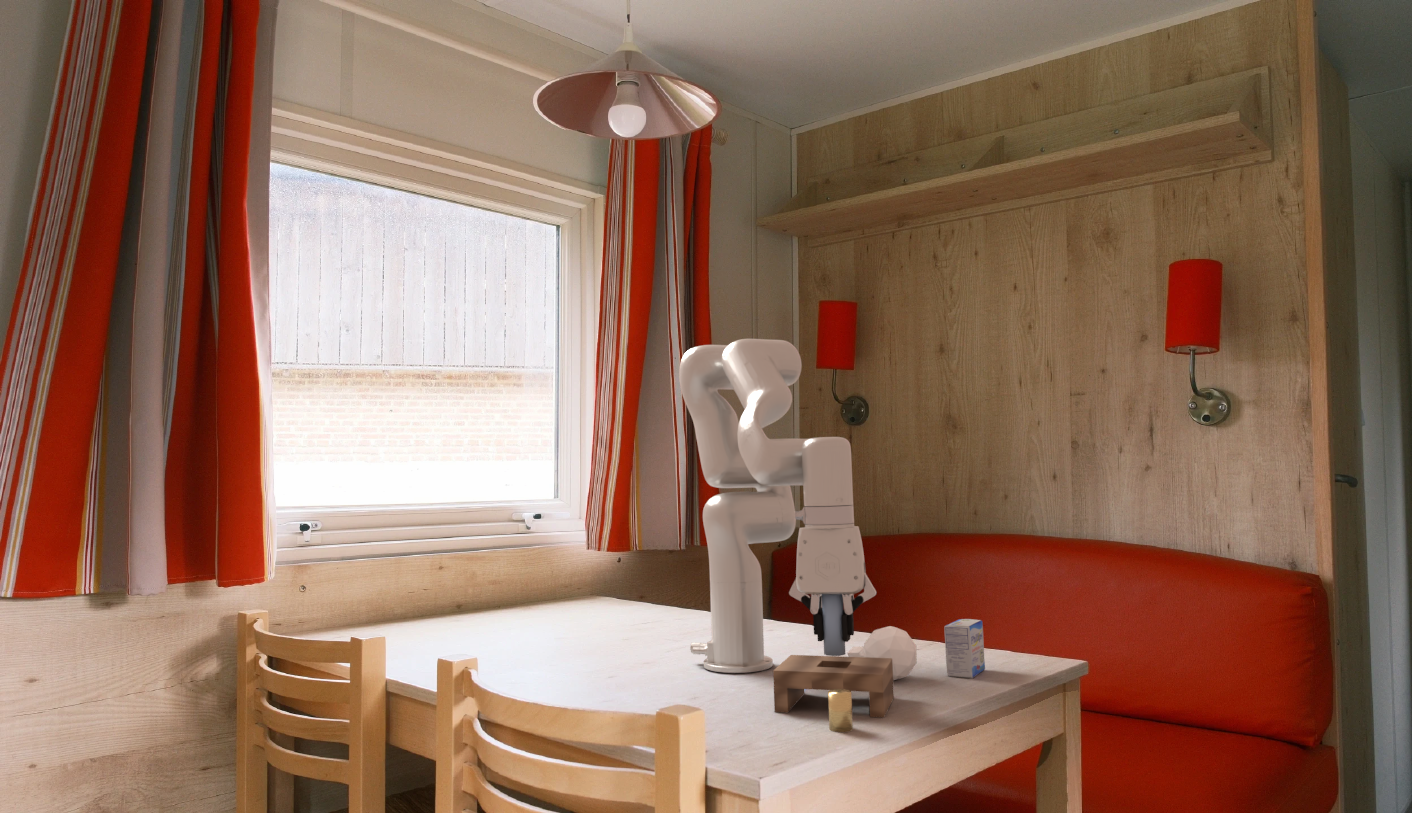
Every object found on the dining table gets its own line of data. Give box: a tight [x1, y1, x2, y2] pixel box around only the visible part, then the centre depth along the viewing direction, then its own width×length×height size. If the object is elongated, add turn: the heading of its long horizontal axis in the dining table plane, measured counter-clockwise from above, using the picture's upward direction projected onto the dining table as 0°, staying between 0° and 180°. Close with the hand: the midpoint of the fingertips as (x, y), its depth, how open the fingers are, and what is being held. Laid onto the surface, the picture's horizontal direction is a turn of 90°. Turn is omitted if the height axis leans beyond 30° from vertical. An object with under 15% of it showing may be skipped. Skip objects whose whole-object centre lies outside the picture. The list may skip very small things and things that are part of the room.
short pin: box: [827, 689, 854, 733], centre depth 128 cm, size 3×3×5 cm
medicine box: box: [944, 618, 986, 679], centre depth 161 cm, size 8×4×9 cm, turn 148°
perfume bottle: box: [847, 625, 918, 681], centre depth 159 cm, size 9×9×12 cm
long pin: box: [822, 594, 846, 657], centre depth 142 cm, size 3×3×9 cm
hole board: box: [772, 654, 895, 719], centre depth 142 cm, size 16×12×6 cm
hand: (834, 638), depth 142 cm, fingers closed on long pin, 3 cm apart
